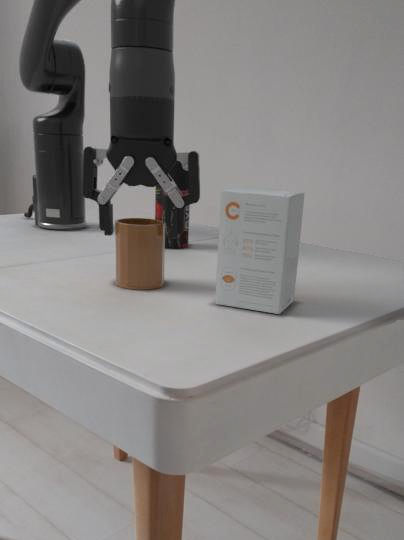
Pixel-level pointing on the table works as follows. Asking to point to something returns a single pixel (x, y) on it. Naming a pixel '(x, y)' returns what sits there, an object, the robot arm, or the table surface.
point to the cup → (139, 253)
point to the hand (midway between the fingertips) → (142, 236)
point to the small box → (258, 248)
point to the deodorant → (166, 207)
